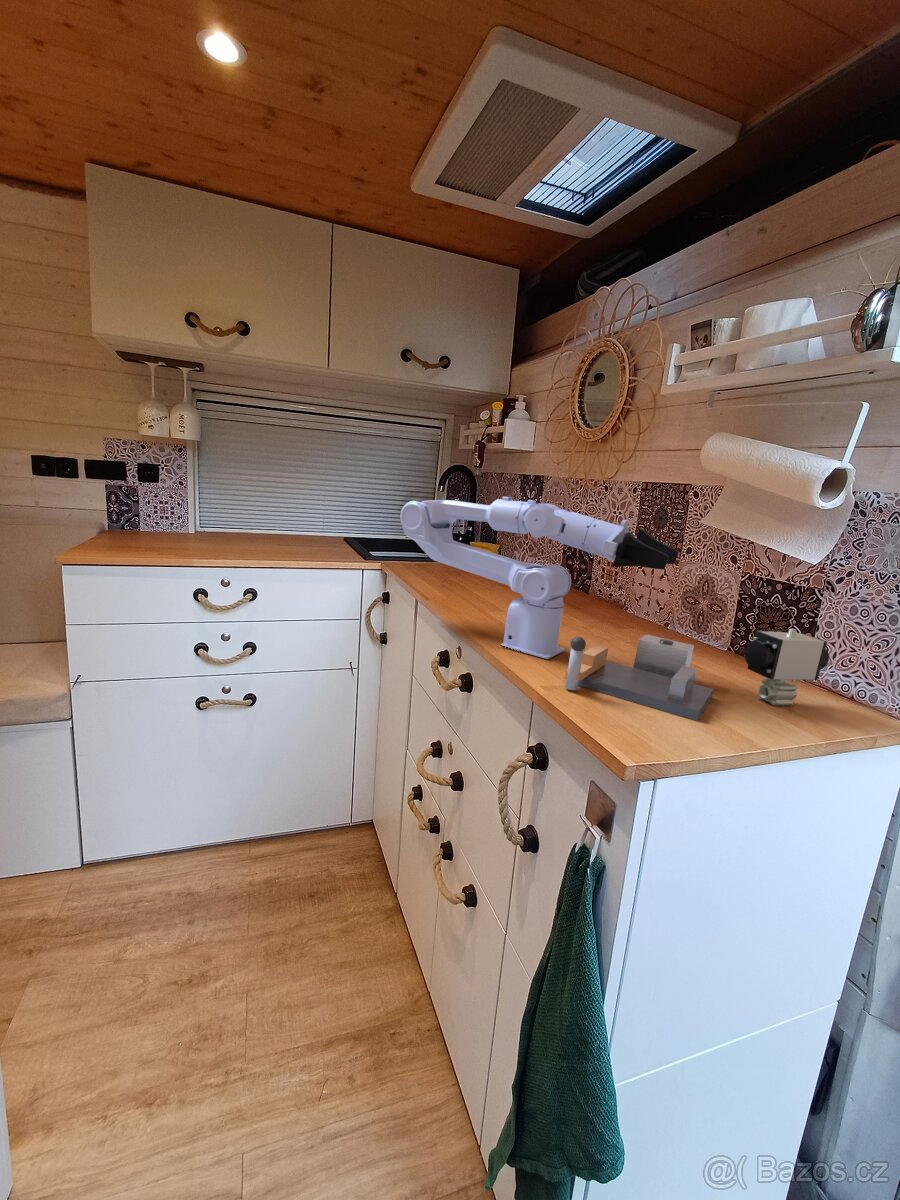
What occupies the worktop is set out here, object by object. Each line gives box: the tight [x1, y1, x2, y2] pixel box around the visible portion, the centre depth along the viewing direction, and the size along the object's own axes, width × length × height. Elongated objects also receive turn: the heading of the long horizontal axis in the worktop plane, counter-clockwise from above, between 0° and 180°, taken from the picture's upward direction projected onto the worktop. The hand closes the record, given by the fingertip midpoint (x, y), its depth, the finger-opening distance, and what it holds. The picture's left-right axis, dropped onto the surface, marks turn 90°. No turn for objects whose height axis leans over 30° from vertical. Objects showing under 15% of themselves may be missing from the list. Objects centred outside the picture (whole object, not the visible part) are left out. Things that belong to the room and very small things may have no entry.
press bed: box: [578, 660, 714, 722], centre depth 86 cm, size 19×12×4 cm, turn 56°
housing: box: [632, 634, 695, 678], centre depth 95 cm, size 8×5×6 cm, turn 56°
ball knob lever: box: [564, 636, 609, 691], centre depth 87 cm, size 2×13×8 cm, turn 146°
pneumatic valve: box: [744, 628, 830, 707], centre depth 87 cm, size 6×12×12 cm, turn 104°
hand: (671, 560), depth 88 cm, fingers open, 7 cm apart
